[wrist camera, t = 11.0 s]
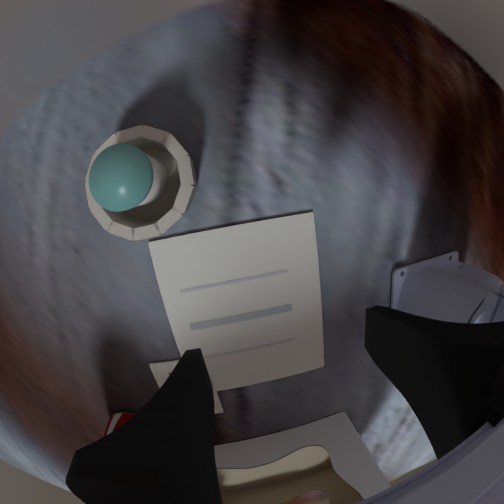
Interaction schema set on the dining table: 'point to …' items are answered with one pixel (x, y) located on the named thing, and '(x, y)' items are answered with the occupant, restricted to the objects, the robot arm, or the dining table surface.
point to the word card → (164, 370)
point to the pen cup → (173, 199)
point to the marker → (126, 178)
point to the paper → (245, 298)
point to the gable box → (299, 465)
